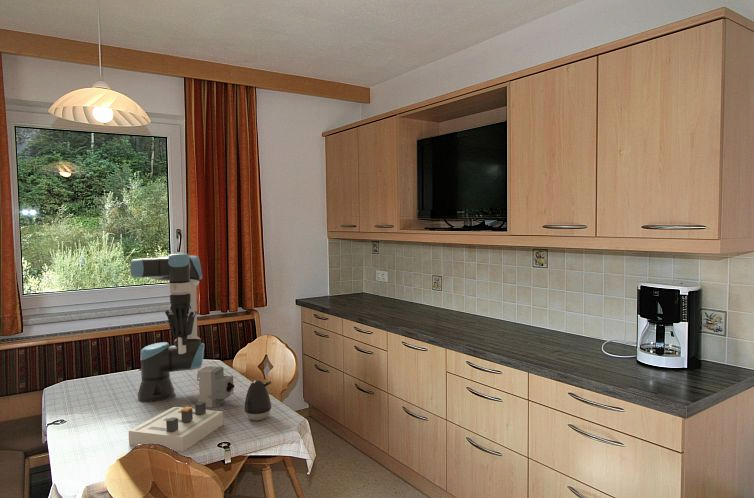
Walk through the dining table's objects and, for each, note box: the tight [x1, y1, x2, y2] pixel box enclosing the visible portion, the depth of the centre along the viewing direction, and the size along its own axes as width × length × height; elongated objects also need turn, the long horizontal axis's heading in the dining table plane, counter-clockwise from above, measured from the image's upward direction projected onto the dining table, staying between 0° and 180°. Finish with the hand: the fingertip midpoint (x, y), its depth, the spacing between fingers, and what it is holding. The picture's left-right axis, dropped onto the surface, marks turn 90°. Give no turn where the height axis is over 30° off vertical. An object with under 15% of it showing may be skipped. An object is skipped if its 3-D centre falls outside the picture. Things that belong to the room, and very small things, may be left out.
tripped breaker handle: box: [181, 406, 193, 423], centre depth 185 cm, size 2×3×5 cm
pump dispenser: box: [244, 379, 272, 422], centre depth 200 cm, size 10×10×15 cm
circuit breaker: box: [196, 365, 235, 408], centre depth 217 cm, size 8×14×15 cm, turn 78°
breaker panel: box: [128, 402, 224, 453], centre depth 186 cm, size 22×24×9 cm
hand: (182, 353), depth 200 cm, fingers closed
